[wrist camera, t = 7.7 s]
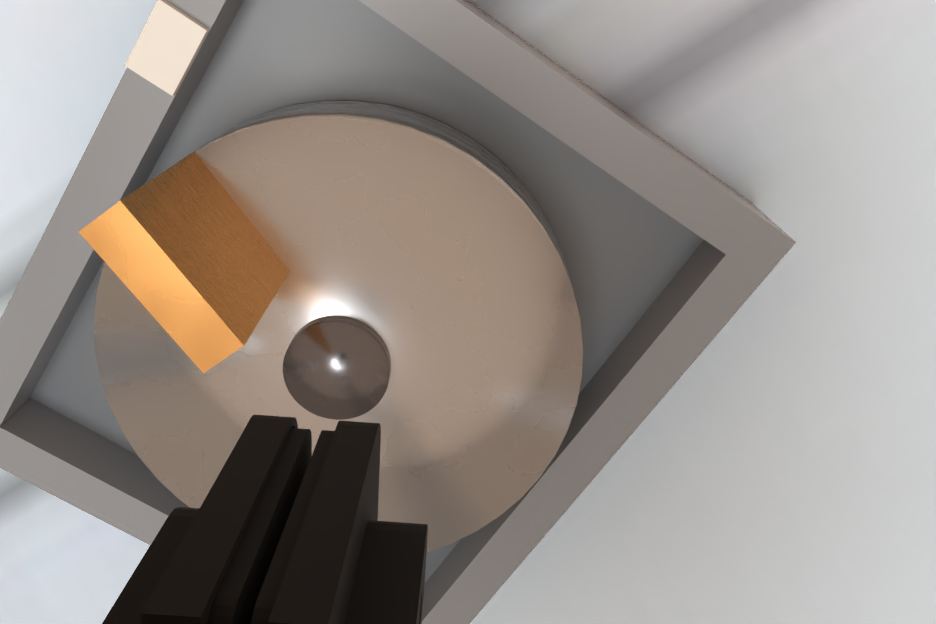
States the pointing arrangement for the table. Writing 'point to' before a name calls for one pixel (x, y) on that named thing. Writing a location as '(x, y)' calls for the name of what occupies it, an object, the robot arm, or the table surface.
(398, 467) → the dial
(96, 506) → the tray
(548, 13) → the table surface
